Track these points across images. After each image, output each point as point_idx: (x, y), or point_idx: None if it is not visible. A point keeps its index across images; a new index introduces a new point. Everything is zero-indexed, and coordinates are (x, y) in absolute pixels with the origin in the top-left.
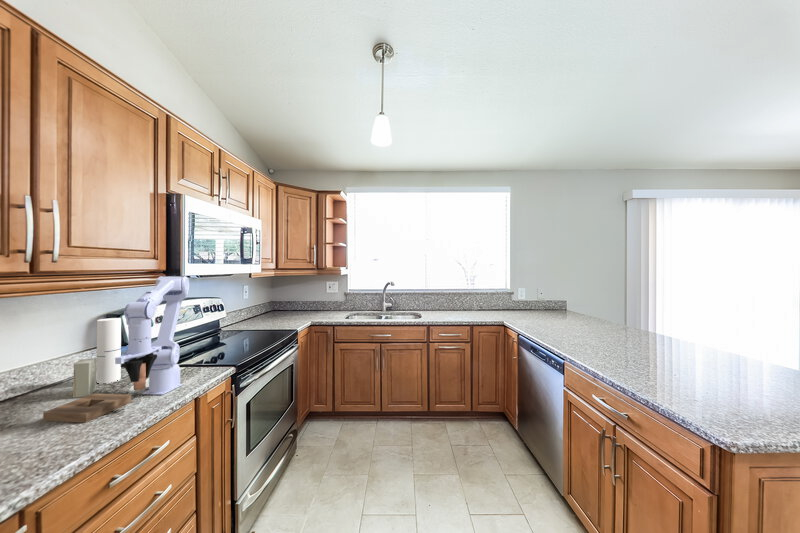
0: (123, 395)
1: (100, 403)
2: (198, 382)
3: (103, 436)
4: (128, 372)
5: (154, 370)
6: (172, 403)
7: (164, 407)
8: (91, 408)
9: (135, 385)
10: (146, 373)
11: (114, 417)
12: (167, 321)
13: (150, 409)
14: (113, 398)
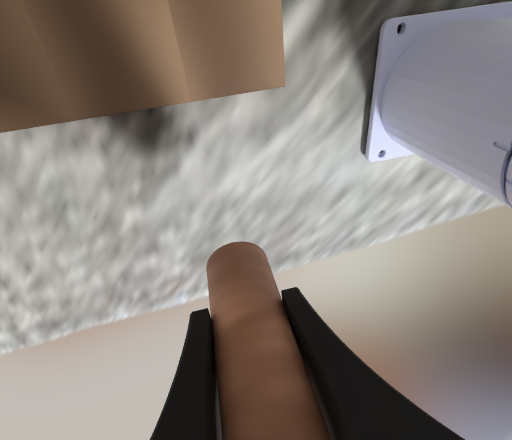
0: (265, 39)
1: (102, 22)
2: None
3: (13, 313)
4: (172, 400)
5: (501, 161)
6: (286, 269)
7: None
8: (21, 62)
9: (209, 298)
10: None
11: (113, 195)
12: None
13: None
14: (204, 19)
